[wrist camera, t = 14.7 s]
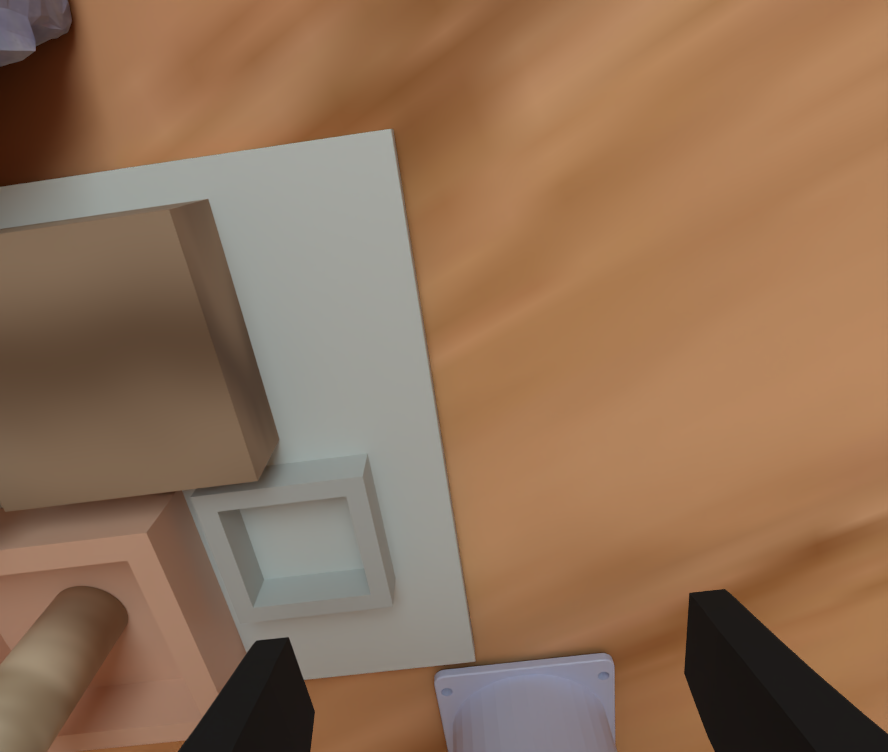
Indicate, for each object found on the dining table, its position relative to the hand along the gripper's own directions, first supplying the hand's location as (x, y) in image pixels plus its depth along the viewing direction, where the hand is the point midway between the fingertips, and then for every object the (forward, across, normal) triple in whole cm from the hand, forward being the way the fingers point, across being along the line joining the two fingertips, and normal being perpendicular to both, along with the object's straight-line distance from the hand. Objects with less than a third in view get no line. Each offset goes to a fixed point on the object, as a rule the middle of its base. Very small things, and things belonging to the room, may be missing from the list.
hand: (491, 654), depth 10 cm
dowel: (+9, +16, +6) cm, 19 cm away
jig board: (+10, +11, +2) cm, 15 cm away
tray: (+9, +16, +6) cm, 19 cm away
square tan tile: (+9, +10, -4) cm, 15 cm away
